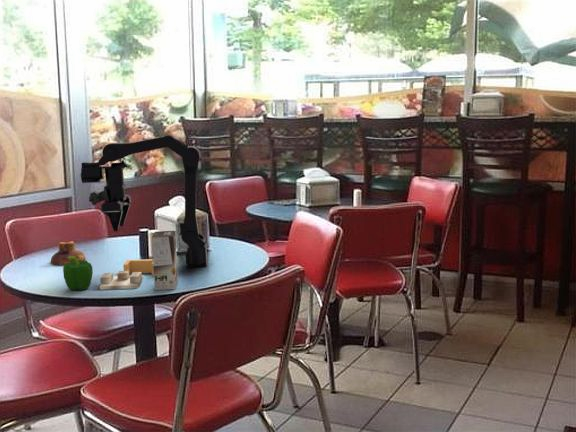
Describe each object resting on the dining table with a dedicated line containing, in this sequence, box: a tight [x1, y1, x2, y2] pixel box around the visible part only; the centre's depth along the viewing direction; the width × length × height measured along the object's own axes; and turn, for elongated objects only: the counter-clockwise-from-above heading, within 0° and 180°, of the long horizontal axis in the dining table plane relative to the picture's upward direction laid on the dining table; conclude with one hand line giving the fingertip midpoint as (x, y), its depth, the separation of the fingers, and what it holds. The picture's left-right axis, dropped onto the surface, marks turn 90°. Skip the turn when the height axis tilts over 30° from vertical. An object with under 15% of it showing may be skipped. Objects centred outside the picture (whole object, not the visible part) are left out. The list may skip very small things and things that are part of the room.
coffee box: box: [151, 230, 179, 291], centre depth 212 cm, size 9×6×16 cm
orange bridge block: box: [122, 258, 154, 277], centre depth 228 cm, size 10×7×4 cm, turn 92°
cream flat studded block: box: [99, 270, 144, 290], centre depth 216 cm, size 11×12×3 cm
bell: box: [50, 240, 86, 266], centre depth 248 cm, size 12×12×7 cm
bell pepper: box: [62, 256, 94, 291], centre depth 211 cm, size 8×8×10 cm
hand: (118, 228), depth 234 cm, fingers open, 9 cm apart
